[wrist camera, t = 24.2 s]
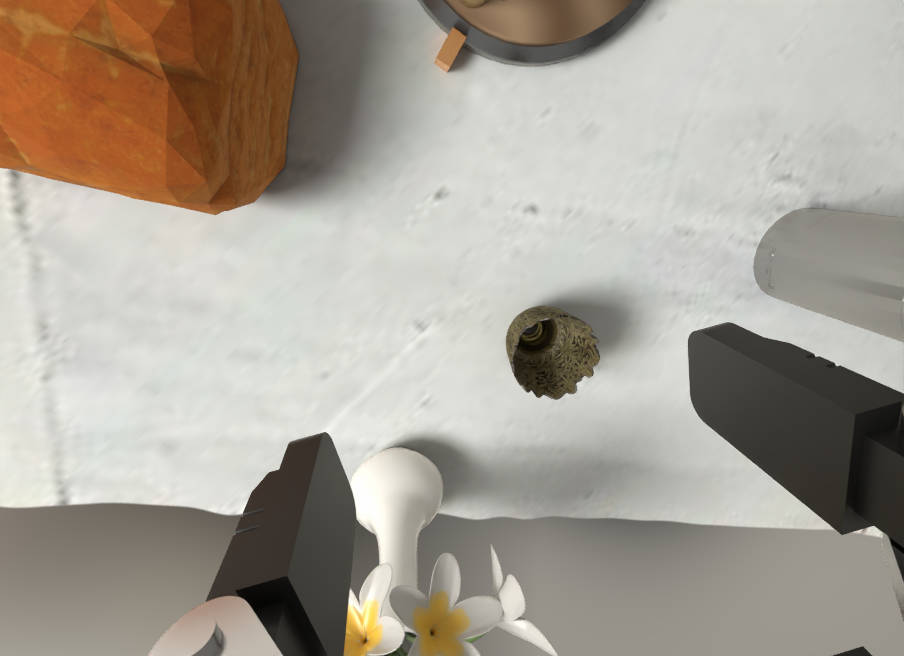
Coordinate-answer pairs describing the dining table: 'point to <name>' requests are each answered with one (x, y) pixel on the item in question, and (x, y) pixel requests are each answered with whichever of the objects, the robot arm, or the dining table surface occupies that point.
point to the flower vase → (396, 581)
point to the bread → (148, 96)
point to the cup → (551, 351)
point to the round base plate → (510, 53)
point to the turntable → (537, 18)
